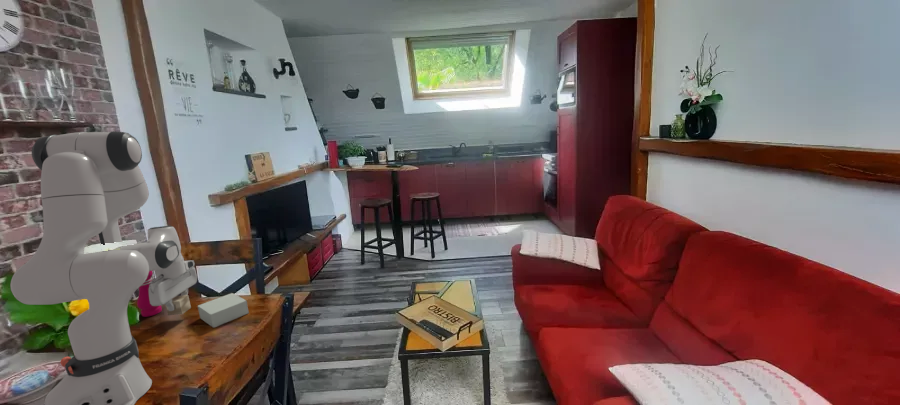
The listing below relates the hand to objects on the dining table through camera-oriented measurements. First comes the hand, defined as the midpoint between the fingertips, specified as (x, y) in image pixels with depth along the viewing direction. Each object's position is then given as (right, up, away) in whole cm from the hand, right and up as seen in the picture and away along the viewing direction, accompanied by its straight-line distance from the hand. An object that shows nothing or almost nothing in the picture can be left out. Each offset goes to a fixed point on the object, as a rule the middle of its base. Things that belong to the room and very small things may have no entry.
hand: (178, 305), depth 140 cm
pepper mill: (-15, -5, +8) cm, 18 cm away
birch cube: (0, -2, 0) cm, 2 cm away
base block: (+16, -4, +2) cm, 16 cm away
